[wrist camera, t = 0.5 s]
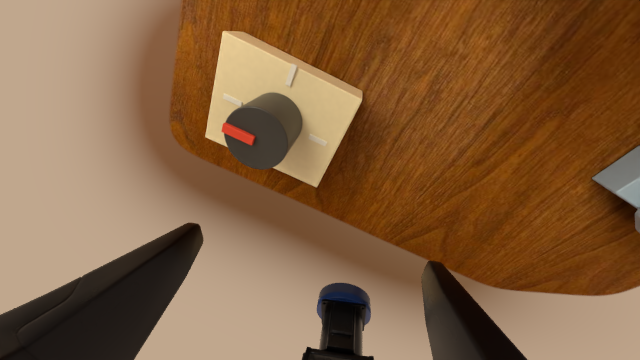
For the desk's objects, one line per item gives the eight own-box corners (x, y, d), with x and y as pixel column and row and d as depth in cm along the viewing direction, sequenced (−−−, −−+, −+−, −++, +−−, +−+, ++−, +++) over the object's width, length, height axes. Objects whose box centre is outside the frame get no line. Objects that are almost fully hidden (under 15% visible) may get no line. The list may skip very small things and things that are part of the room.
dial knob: (310, 107, 17) (296, 127, 13) (291, 154, 19) (274, 182, 15) (257, 82, 16) (227, 94, 13) (244, 132, 19) (215, 155, 15)
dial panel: (363, 89, 19) (363, 98, 16) (321, 171, 23) (316, 189, 20) (243, 29, 18) (221, 28, 15) (222, 126, 22) (203, 138, 19)
